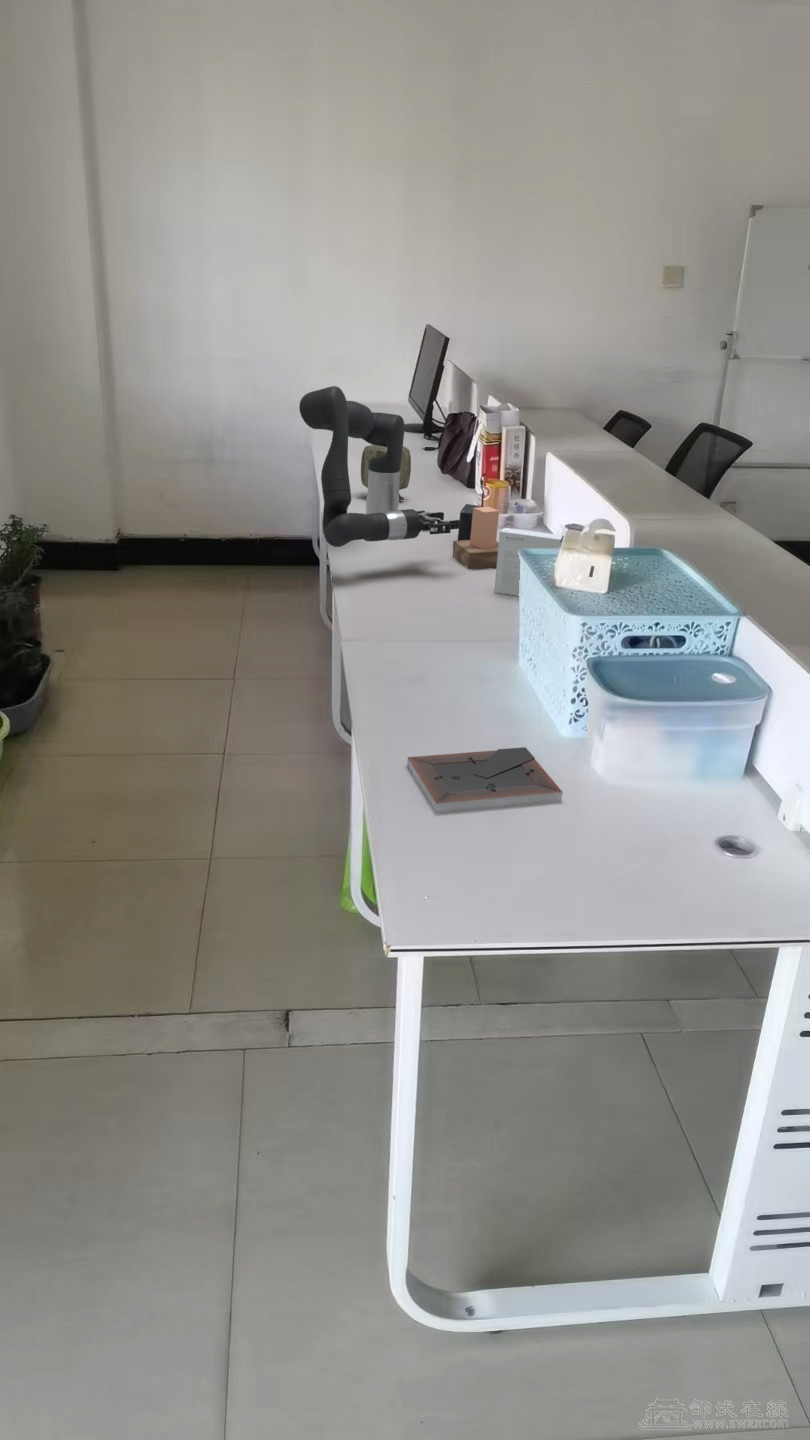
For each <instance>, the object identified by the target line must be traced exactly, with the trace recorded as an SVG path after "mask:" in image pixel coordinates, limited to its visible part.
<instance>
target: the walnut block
mask: <svg viewBox="0 0 810 1440" xmlns="http://www.w3.org/2000/svg"><path fill="white" fill-rule="evenodd" d="M498 547H499V541H497V540H496V547H493V548H485V549H480V548H477V547H475V546H473V545H471V544H470V540H460V541H457V540H453V543H452V555H451V556H452V558H453V559H454V558H455V561H457V562H459V563H460V565H462V564H463V565H462V566H463V567H465V566H466V567H467V568H468V569H467V568H466V567H465V568H466V569H467V570H469V569H473V570H487V568H492V569H496V567H497V556H498ZM484 568H486V569H484Z"/></svg>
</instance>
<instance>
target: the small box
mask: <svg viewBox="0 0 810 1440" xmlns="http://www.w3.org/2000/svg"><path fill="white" fill-rule="evenodd" d="M478 507H486V506H483V505H478V504H477V505H476V504H470V503H469V504H468V503H465V505H464V506H463V507H462V509H461V510H460V512H459V519H458V520H460V521H461V528H460V529H458V532H457V533H458V534H457V540H456V541H460V540H470V537H471V527H472V516H473V508H478Z"/></svg>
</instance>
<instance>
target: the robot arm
mask: <svg viewBox="0 0 810 1440" xmlns="http://www.w3.org/2000/svg"><path fill="white" fill-rule="evenodd" d="M298 407H299V413H300V417H301V418H302V420H303V422H304V423H305V424H306V425H307V426H308V427H309V428H310V429H313V430H325V431H330V432H332V438H331V442H330V446H329V449H328V451H327V454H326V456H325V459H324V462H323V464H322V469H321V475H320V480H321V489H322V496H323V497H322V499H323V509H322V510H323V511H322V533H323V536H324V539H325V541H326V542H327V543H328V544H329V545H330V546H332V547H334V548H340V547H343V546H346V545H347V544H349V543H351V542H353V541H359V540H364V541H366V542H379V541H380V542H382V541H399V540H400V541H402V540H409V539H410V540H411V539H415V538H418V536H419V535H420V533H421V532H423V533H428V532H429V535H439V534H450V533H451V531H452V530H459V529H460V528H461V521H460V520H459V519H453V520H452V519H451V520H444V518H445V512H442V511H437V512H430V511H426V510H415V509H413V508H411V509H409V508H407V509H399V502H400V501H399V494H400V490H399V483H400V466H401V460H402V449H403V446H404V440H405V420H404V417H403V416H402V415H399V414H393V413H386V412H375V411H374V412H373V411H372V410H371V408H370V407H368V406H367V405H364V403H361V402H358V401H355V400H347V397H346V395H345V393H344V391H343V390H342V389H341V388H340V387H339V386H336V385H334V386H333V385H332V386H328V387H324V388H320V389H316V390H313V391H310V392H307V393H306V394H304V395H303V397H302V398H301V399H300V401H299V406H298ZM349 438H353V439H362V440H363V441H365V442H366V443H368V444H370V445H377V446H384V447H387V453H386V454H385V455H382V456H379V457H375V458H372V459H370V461H369V474H368V488H367V493H366V502H365V503H366V507H365V509H366V510H365V511H366V512H365V513H359V512H348V508H349V506H350V505H351V503H352V493H351V490H352V489H351V482H350V476H349V463H348V461H349V460H348V459H349V457H348V455H349Z"/></svg>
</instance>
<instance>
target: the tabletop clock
mask: <svg viewBox="0 0 810 1440" xmlns="http://www.w3.org/2000/svg"><path fill="white" fill-rule="evenodd" d="M386 453H387V447H384V446H377V445H372V444H370V445H367V446H364V449H363V451H362V454H361V462H360V480H361V484H362V486H364V487H365V488H367V489H368V474H369V461H370V459H372V458H375V457H379V456H382V455H385V454H386ZM411 472H412V456H411V452H410V449H409V448H407V446H404V445H403V449H402V460H401V466H400V483H399V491H401V490H405V489H407V488H408V486H409V483H410V480H411ZM399 500H405V498H404V497H403V496H401V494H400V493H399Z"/></svg>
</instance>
